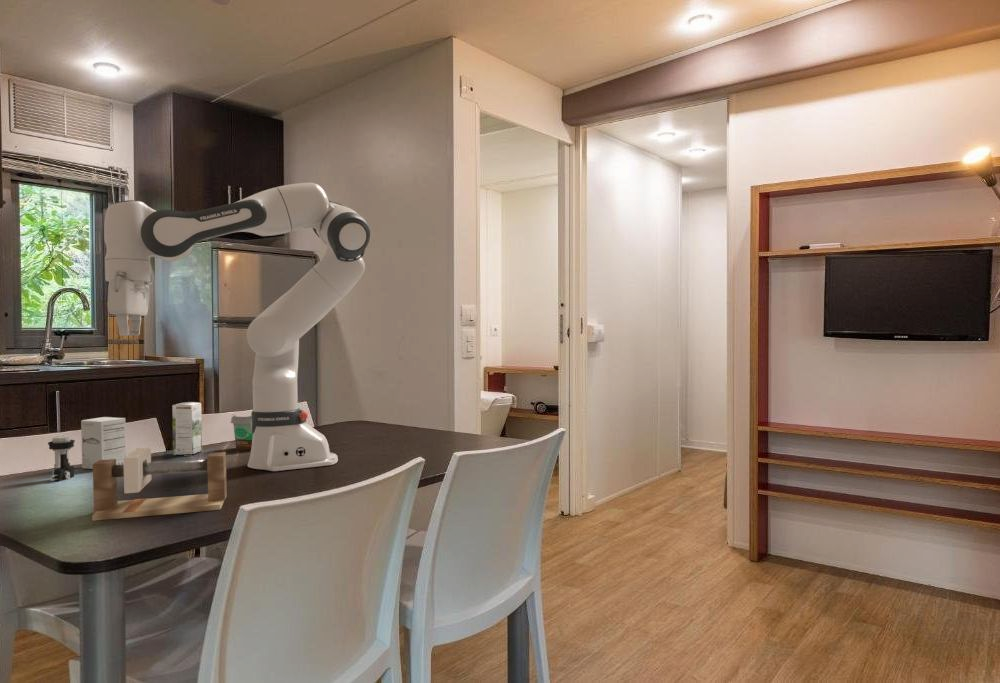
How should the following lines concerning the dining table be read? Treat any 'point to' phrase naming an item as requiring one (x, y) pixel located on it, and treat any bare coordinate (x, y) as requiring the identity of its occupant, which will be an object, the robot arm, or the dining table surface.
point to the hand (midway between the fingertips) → (129, 335)
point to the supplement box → (103, 440)
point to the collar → (136, 470)
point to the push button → (61, 458)
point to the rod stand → (113, 509)
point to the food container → (242, 432)
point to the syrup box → (187, 428)
